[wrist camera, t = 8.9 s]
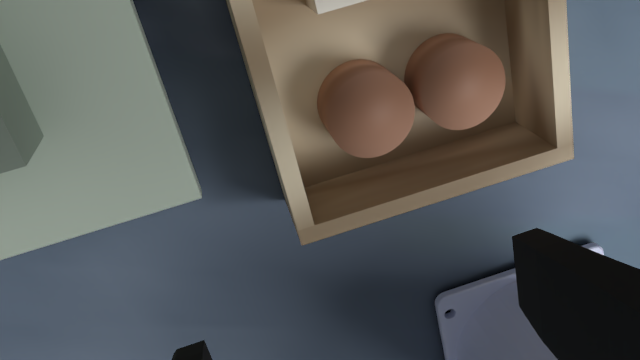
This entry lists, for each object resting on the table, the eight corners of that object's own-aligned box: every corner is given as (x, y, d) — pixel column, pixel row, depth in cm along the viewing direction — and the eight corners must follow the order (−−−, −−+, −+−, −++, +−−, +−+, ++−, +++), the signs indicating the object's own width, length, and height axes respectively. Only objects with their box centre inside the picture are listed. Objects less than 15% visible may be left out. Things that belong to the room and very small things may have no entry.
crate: (523, 126, 24) (574, 158, 21) (285, 200, 24) (301, 245, 20) (489, -258, 19) (551, -290, 16) (172, -178, 18) (171, -196, 15)
